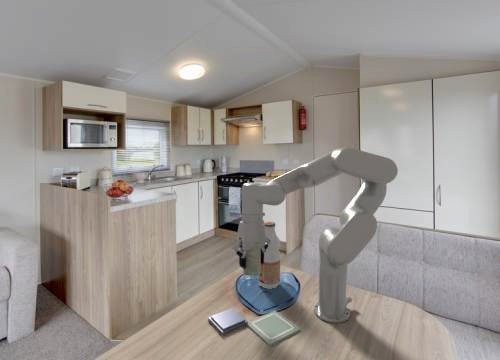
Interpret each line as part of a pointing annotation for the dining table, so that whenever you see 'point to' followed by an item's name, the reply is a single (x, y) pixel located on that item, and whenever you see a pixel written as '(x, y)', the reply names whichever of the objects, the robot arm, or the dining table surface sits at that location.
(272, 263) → the fruit juice
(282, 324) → the marked board
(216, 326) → the ink pad
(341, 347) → the dining table surface
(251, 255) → the skincare box
